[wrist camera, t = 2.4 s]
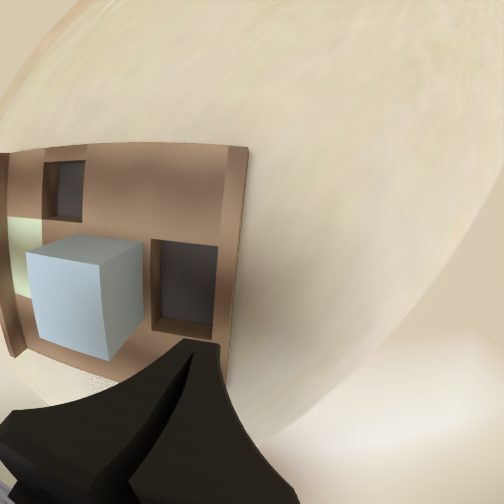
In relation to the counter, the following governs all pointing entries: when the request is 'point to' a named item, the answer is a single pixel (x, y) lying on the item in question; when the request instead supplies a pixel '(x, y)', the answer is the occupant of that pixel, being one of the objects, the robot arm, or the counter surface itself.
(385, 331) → the counter surface
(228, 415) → the robot arm
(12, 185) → the board
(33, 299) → the blue block
